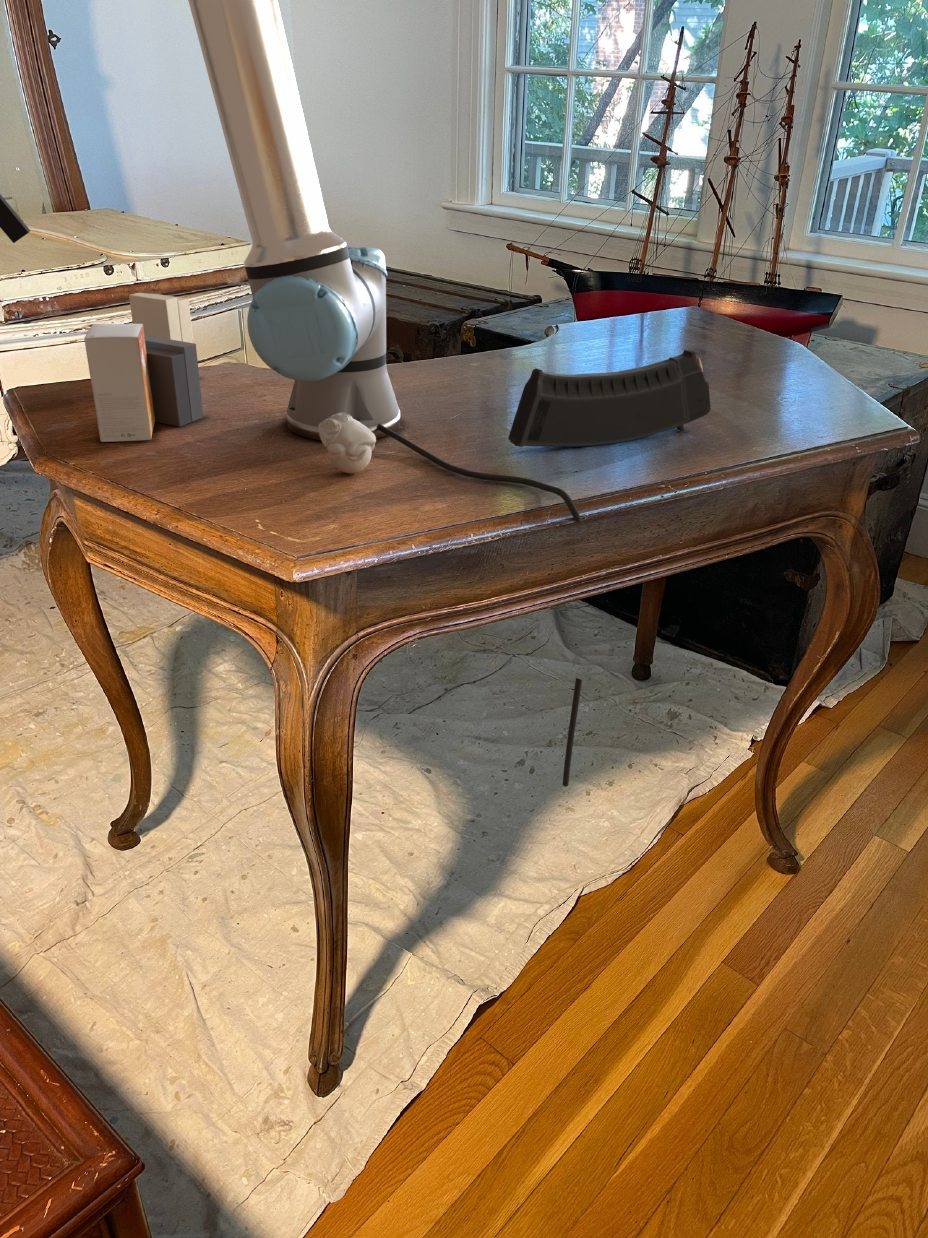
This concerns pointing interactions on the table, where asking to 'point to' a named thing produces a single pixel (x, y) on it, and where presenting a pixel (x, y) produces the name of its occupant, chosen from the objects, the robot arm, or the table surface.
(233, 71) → the robot arm
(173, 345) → the grey books
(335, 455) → the plaster face bust
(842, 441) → the table surface
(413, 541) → the table surface
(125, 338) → the small box
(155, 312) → the beige rectangular block
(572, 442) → the magazine
